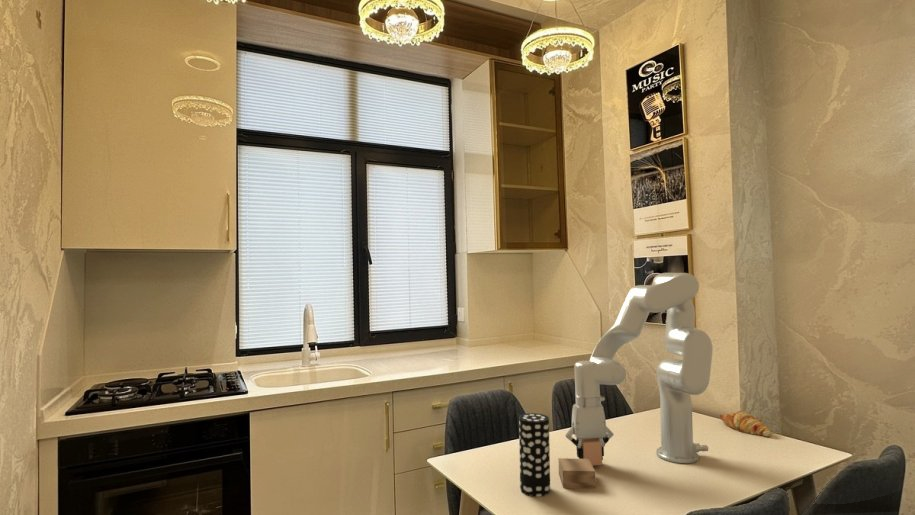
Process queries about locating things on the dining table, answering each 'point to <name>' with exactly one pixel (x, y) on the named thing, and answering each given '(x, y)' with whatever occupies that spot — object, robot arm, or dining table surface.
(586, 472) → the walnut block
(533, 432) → the white-spotted black cylinder
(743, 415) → the croissant
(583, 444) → the peach matte cube
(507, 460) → the dining table surface
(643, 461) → the dining table surface
